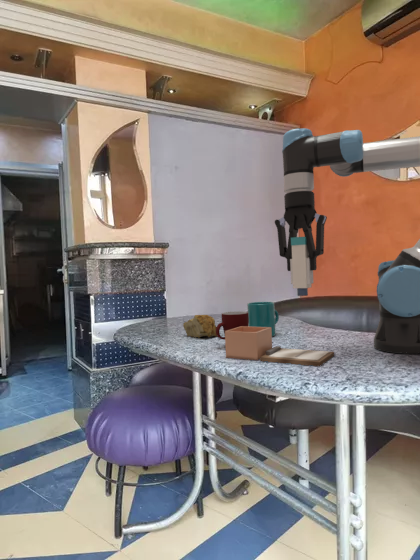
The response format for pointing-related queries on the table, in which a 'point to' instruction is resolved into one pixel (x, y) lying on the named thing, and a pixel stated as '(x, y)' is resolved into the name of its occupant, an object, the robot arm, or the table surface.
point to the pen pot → (248, 342)
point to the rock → (200, 326)
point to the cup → (262, 315)
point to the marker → (300, 265)
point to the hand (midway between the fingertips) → (302, 283)
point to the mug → (232, 321)
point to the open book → (296, 356)
